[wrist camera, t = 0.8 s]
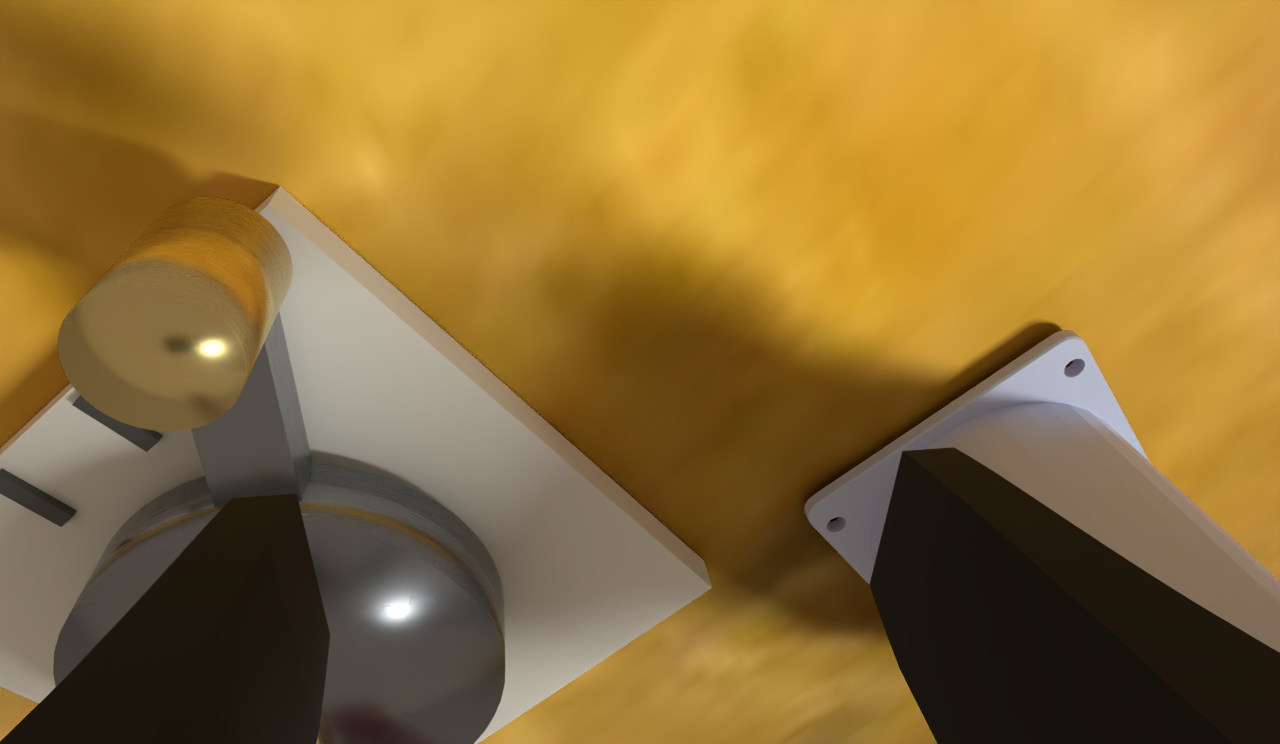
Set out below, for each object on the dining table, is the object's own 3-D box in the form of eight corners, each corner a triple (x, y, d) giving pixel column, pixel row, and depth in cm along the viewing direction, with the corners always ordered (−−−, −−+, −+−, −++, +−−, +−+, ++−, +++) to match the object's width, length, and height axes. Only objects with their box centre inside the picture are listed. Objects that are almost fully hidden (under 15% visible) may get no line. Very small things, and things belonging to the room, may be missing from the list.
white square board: (704, 560, 23) (714, 593, 22) (345, 802, 26) (339, 840, 25) (280, 186, 16) (265, 208, 15) (-140, 579, 19) (-175, 620, 18)
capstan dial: (513, 715, 22) (516, 844, 20) (156, 755, 21) (102, 900, 18) (473, 191, 15) (469, 274, 12) (-92, 203, 13) (-254, 299, 11)
